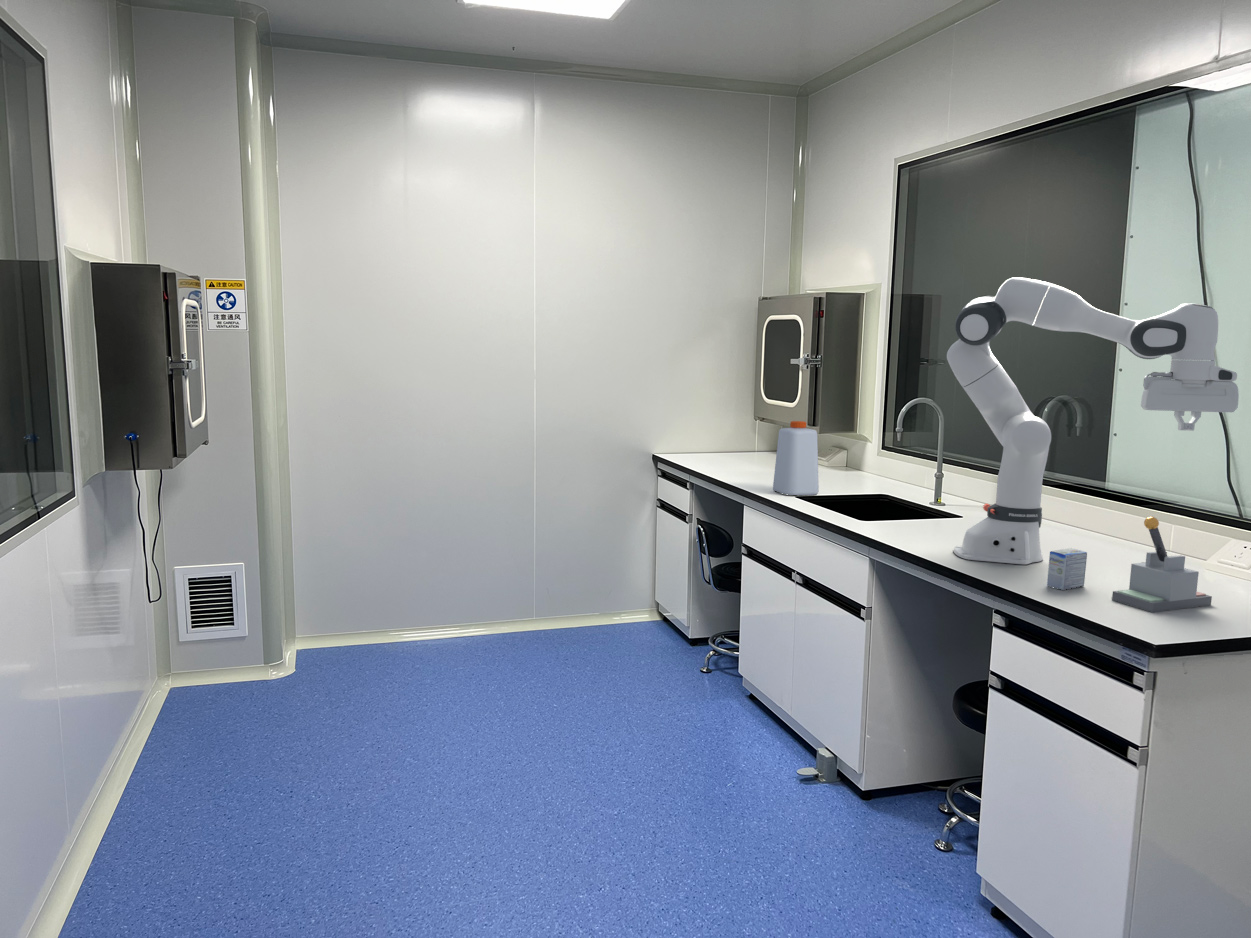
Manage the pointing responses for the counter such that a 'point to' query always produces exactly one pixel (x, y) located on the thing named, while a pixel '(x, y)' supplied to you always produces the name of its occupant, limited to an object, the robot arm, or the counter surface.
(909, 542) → the counter surface
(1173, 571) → the breaker block
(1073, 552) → the medicine box
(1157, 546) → the lever
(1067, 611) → the counter surface
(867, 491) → the counter surface
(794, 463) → the plastic bottle
